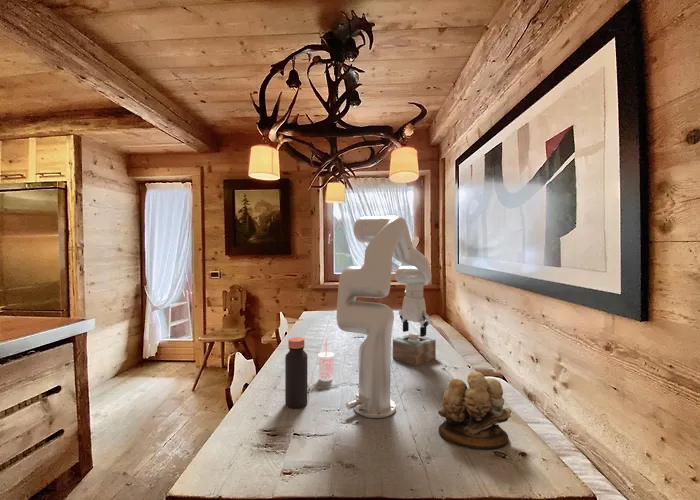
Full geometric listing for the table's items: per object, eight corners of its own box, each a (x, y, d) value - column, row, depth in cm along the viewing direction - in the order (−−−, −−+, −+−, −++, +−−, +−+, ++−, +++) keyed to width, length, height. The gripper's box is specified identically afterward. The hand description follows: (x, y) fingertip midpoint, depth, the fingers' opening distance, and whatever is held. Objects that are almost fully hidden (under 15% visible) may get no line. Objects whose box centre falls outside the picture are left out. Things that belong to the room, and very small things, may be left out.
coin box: (414, 366, 133) (414, 345, 133) (392, 358, 142) (392, 338, 142) (435, 358, 142) (435, 339, 142) (413, 351, 151) (414, 333, 151)
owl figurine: (502, 426, 89) (504, 363, 89) (520, 453, 78) (521, 382, 77) (435, 421, 91) (436, 360, 91) (442, 447, 80) (443, 378, 79)
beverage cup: (314, 379, 119) (314, 341, 119) (324, 374, 125) (324, 337, 124) (328, 383, 116) (328, 344, 116) (337, 377, 122) (337, 339, 121)
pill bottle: (419, 353, 144) (418, 332, 144) (421, 358, 139) (420, 335, 139) (406, 354, 145) (406, 332, 144) (409, 359, 139) (408, 336, 139)
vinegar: (311, 400, 103) (311, 337, 103) (300, 410, 97) (300, 343, 97) (292, 397, 106) (292, 335, 105) (281, 406, 99) (280, 341, 99)
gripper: (393, 292, 146) (393, 331, 146) (424, 297, 133) (424, 339, 133) (405, 291, 151) (404, 328, 151) (436, 295, 137) (436, 336, 137)
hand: (414, 333), depth 142 cm, fingers open, 9 cm apart
